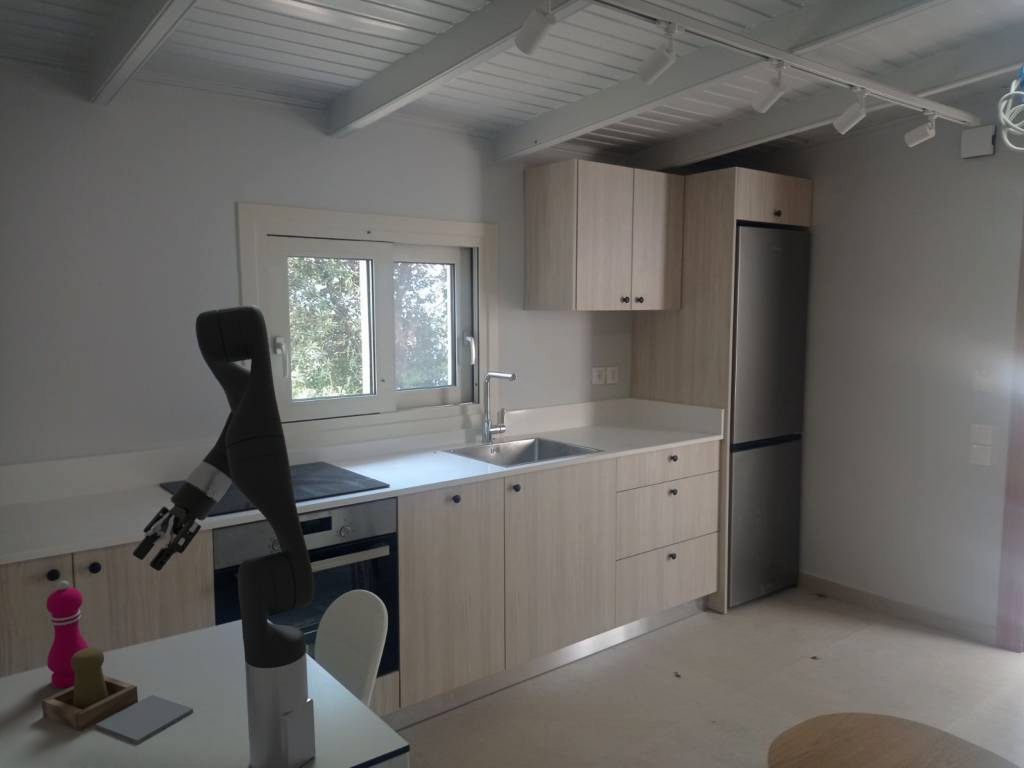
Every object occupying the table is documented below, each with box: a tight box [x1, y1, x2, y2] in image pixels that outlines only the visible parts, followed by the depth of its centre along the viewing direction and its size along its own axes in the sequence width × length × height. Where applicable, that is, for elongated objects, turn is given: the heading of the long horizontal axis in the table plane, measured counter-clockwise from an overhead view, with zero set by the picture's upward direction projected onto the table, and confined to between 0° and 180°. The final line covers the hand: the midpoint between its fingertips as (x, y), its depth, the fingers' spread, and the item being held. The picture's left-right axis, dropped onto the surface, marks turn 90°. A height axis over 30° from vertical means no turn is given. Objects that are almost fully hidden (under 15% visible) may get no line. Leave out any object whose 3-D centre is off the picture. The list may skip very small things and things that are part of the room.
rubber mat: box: [95, 694, 194, 745], centre depth 132 cm, size 11×11×1 cm
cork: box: [71, 647, 108, 710], centre depth 135 cm, size 6×6×11 cm
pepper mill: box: [45, 580, 90, 689], centre depth 145 cm, size 7×7×20 cm
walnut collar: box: [41, 674, 139, 732], centre depth 135 cm, size 11×11×3 cm
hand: (145, 562), depth 140 cm, fingers open, 8 cm apart
